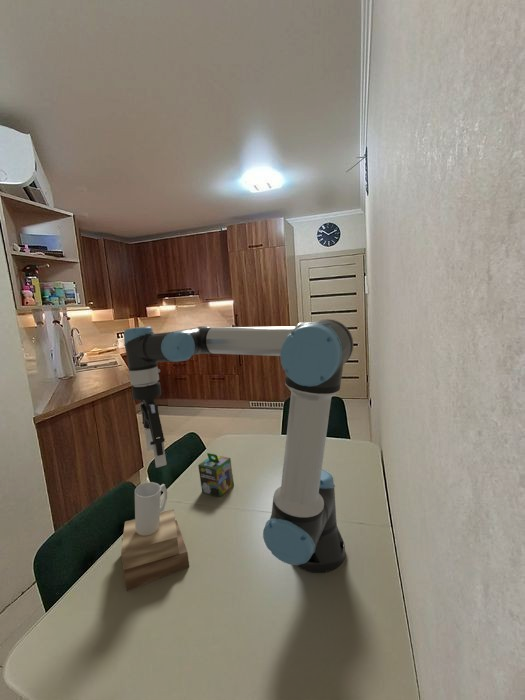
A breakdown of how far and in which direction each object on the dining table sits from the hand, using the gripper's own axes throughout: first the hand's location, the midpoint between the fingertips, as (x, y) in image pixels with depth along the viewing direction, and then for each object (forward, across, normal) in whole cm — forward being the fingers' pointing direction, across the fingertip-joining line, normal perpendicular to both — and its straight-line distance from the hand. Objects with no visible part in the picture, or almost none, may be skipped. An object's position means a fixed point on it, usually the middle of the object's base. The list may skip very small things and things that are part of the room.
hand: (156, 457), depth 97 cm
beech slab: (+24, -1, +5) cm, 25 cm away
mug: (+19, 0, +4) cm, 19 cm away
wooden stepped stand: (+29, -1, +4) cm, 30 cm away
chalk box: (+29, +24, -24) cm, 45 cm away
